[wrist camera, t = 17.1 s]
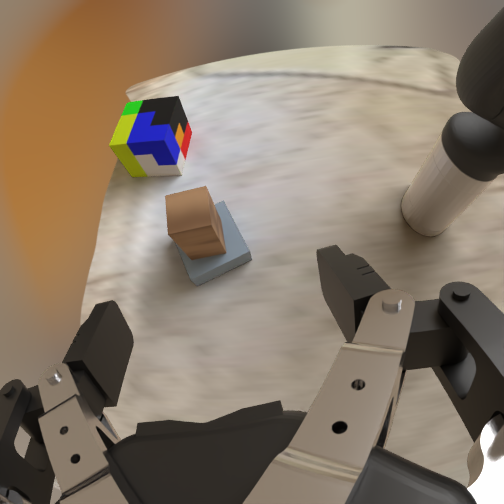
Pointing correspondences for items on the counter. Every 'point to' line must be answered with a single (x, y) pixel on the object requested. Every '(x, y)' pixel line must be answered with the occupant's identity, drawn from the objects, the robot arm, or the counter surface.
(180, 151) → the puzzle toy
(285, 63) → the counter surface
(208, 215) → the walnut block
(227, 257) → the slate plinth
